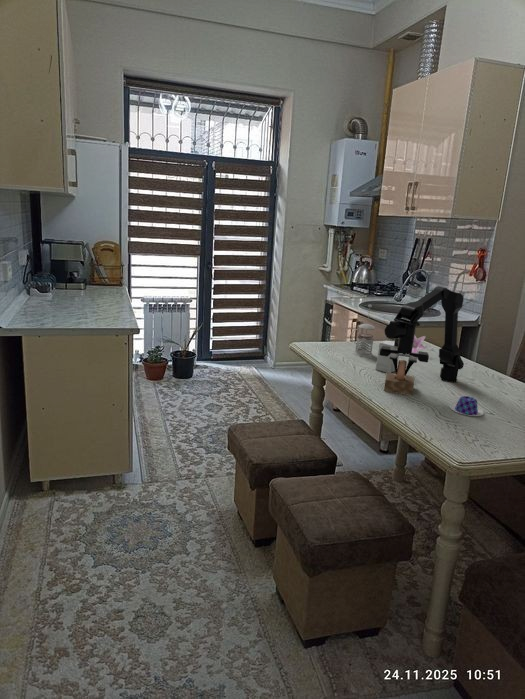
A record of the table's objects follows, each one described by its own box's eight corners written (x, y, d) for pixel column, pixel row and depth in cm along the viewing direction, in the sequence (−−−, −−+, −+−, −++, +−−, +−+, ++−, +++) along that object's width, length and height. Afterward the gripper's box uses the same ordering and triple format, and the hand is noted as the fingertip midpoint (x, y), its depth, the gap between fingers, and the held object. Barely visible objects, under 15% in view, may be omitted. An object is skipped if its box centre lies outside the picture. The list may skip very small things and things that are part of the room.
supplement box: (390, 373, 237) (394, 346, 233) (374, 369, 241) (378, 342, 238) (397, 370, 242) (401, 343, 239) (381, 366, 247) (386, 339, 243)
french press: (373, 358, 260) (380, 307, 253) (349, 354, 262) (355, 304, 255) (373, 353, 269) (380, 303, 262) (350, 349, 271) (356, 301, 264)
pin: (403, 381, 217) (406, 360, 215) (403, 384, 214) (406, 362, 212) (395, 380, 218) (398, 359, 216) (395, 383, 215) (398, 361, 213)
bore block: (412, 387, 221) (413, 376, 220) (412, 395, 210) (414, 384, 209) (385, 382, 223) (386, 372, 222) (383, 390, 213) (385, 380, 212)
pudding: (452, 403, 207) (454, 390, 205) (485, 411, 201) (487, 397, 200) (446, 412, 196) (449, 398, 195) (481, 420, 191) (483, 407, 190)
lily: (399, 351, 281) (398, 337, 275) (420, 343, 282) (419, 329, 276) (410, 364, 272) (409, 350, 266) (432, 357, 272) (431, 342, 267)
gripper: (430, 336, 217) (424, 372, 221) (383, 329, 221) (378, 365, 225) (431, 342, 206) (424, 380, 210) (382, 335, 210) (376, 373, 215)
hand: (400, 374), depth 215 cm, fingers closed on pin, 3 cm apart
